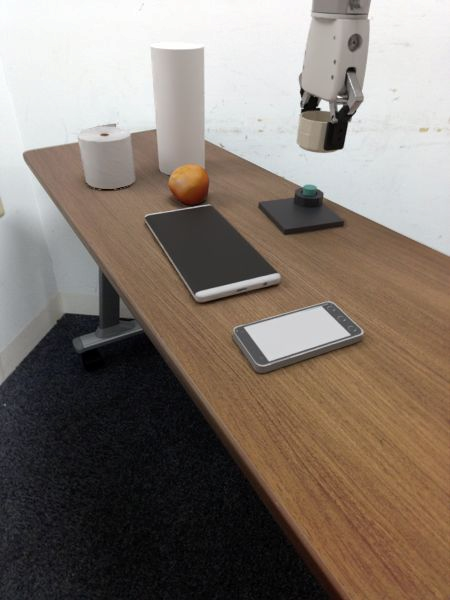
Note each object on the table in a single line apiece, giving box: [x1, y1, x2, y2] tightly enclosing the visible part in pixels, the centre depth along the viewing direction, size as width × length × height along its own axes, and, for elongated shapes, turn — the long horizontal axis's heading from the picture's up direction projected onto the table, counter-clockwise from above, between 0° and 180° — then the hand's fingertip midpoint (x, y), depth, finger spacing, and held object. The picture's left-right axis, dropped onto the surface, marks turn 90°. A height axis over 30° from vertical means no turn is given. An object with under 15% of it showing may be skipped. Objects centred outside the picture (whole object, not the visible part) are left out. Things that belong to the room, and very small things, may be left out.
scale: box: [257, 187, 345, 236], centre depth 80 cm, size 12×12×3 cm
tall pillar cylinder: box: [150, 41, 206, 176], centre depth 93 cm, size 11×11×25 cm
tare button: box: [302, 184, 318, 196], centre depth 82 cm, size 3×3×2 cm
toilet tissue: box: [76, 122, 137, 188], centre depth 90 cm, size 11×12×10 cm
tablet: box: [144, 204, 282, 303], centre depth 69 cm, size 13×27×2 cm, turn 24°
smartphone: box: [232, 300, 364, 374], centre depth 53 cm, size 7×1×15 cm
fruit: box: [168, 164, 210, 206], centre depth 84 cm, size 8×8×8 cm
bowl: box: [295, 110, 338, 154], centre depth 66 cm, size 7×7×4 cm
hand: (319, 140), depth 67 cm, fingers closed on bowl, 7 cm apart
